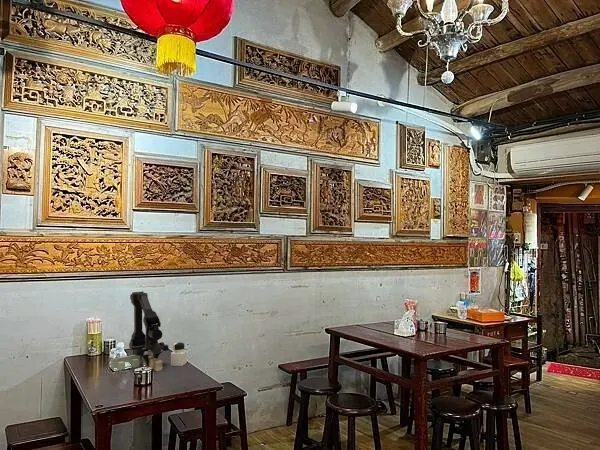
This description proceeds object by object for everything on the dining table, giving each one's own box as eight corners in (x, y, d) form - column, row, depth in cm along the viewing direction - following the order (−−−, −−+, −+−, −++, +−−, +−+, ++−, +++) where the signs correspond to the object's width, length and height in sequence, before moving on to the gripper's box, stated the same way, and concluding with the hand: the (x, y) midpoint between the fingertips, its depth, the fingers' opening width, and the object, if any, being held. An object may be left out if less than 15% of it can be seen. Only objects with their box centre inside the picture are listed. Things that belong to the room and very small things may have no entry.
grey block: (110, 369, 265) (110, 358, 265) (138, 363, 276) (138, 353, 276) (114, 371, 261) (114, 360, 261) (143, 365, 272) (143, 354, 272)
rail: (141, 364, 274) (141, 355, 274) (147, 363, 276) (147, 354, 276) (156, 371, 260) (156, 361, 260) (162, 369, 263) (162, 360, 263)
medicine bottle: (187, 362, 277) (187, 341, 277) (182, 366, 270) (182, 344, 270) (175, 362, 278) (175, 341, 278) (170, 365, 271) (170, 344, 271)
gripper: (141, 342, 257) (141, 371, 256) (173, 336, 269) (173, 364, 269) (132, 338, 265) (132, 367, 265) (163, 333, 278) (164, 361, 277)
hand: (151, 365), depth 269 cm, fingers open, 4 cm apart
